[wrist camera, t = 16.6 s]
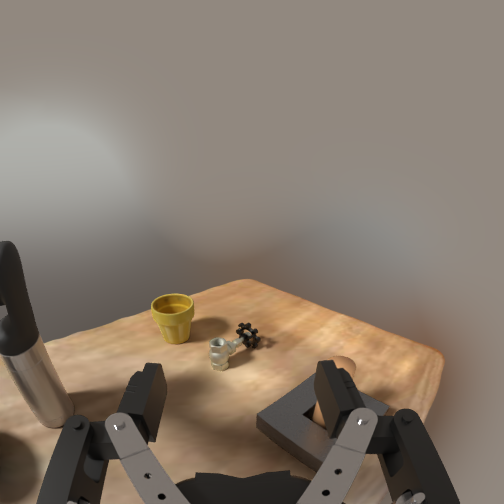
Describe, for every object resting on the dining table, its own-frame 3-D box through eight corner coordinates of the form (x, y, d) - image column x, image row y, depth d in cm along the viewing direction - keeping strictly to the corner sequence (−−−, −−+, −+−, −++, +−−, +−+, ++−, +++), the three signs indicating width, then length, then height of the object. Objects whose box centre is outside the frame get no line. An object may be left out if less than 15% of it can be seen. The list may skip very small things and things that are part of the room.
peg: (305, 428, 38) (318, 366, 34) (321, 414, 41) (336, 352, 37) (324, 441, 35) (345, 380, 31) (340, 425, 38) (361, 364, 33)
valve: (224, 377, 51) (260, 351, 60) (222, 353, 49) (261, 327, 58) (202, 363, 55) (239, 340, 64) (199, 340, 53) (238, 317, 62)
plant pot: (204, 340, 64) (201, 305, 61) (166, 354, 58) (159, 318, 55) (185, 321, 71) (182, 289, 68) (151, 333, 65) (144, 299, 62)
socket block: (256, 427, 39) (256, 414, 38) (316, 383, 49) (319, 369, 48) (329, 480, 27) (335, 470, 26) (382, 419, 38) (389, 406, 36)
